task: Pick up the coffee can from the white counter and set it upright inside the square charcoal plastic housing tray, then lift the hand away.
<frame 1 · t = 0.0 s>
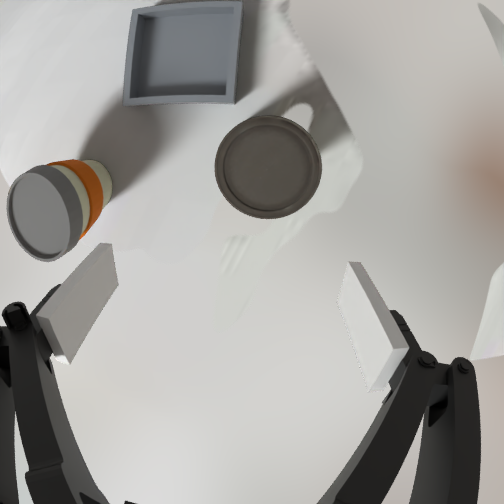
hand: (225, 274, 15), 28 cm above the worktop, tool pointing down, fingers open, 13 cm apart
coffee can: (263, 150, 39), on the worktop
reusable coffee cup: (90, 185, 41), on the worktop
housing tray: (185, 55, 32), on the worktop
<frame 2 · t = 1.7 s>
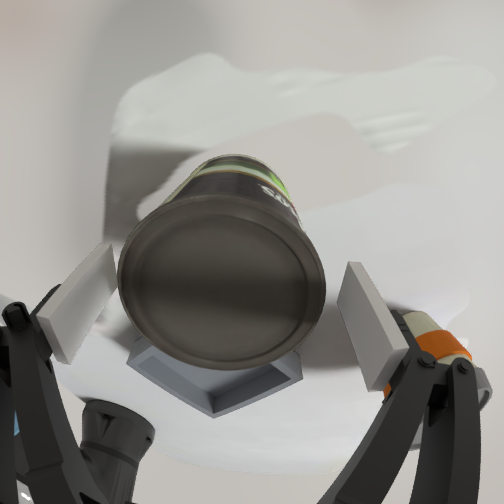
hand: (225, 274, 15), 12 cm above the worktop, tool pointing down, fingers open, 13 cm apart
coffee can: (233, 208, 26), on the worktop
reusable coffee cup: (404, 335, 34), on the worktop
housing tray: (215, 351, 34), on the worktop
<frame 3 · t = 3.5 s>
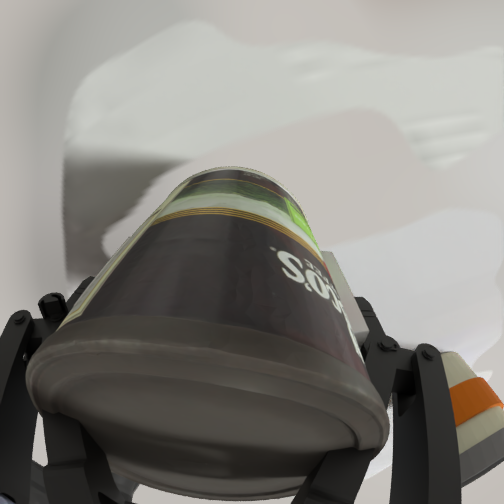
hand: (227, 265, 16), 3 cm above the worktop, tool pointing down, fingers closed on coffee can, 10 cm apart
coffee can: (230, 242, 19), on the worktop, touching gripper
reusable coffee cup: (430, 376, 27), on the worktop
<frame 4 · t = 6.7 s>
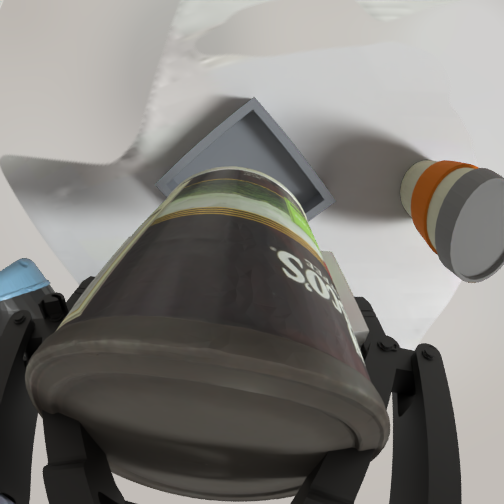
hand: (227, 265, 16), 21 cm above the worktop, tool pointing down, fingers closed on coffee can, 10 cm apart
coffee can: (230, 242, 19), point 18 cm above the worktop, touching gripper
reusable coffee cup: (424, 189, 35), on the worktop
housing tray: (246, 182, 35), on the worktop
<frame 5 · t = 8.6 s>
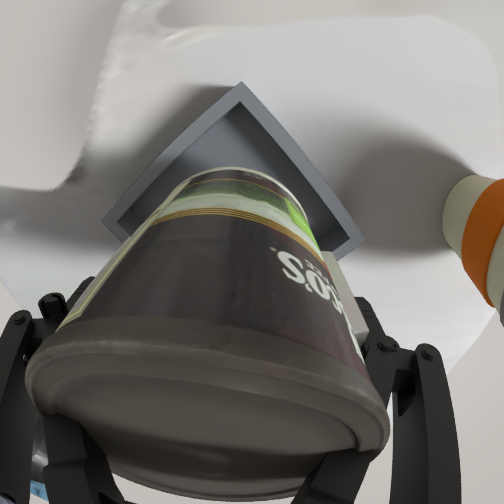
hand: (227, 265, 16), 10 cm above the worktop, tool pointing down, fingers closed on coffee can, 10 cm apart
coffee can: (230, 242, 19), point 7 cm above the worktop, touching gripper
reusable coffee cup: (469, 213, 24), on the worktop
housing tray: (234, 210, 25), on the worktop
when the fingers open (6 cm above the worktop, at t = 10.2 s): coffee can drops 2 cm, resting on housing tray.
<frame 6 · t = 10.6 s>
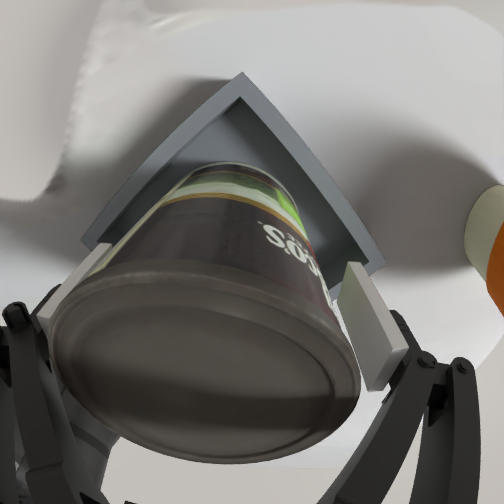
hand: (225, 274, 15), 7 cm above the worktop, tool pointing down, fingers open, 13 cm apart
coffee can: (228, 231, 20), point 1 cm above the worktop, touching housing tray
reusable coffee cup: (491, 226, 21), on the worktop
housing tray: (233, 226, 21), on the worktop
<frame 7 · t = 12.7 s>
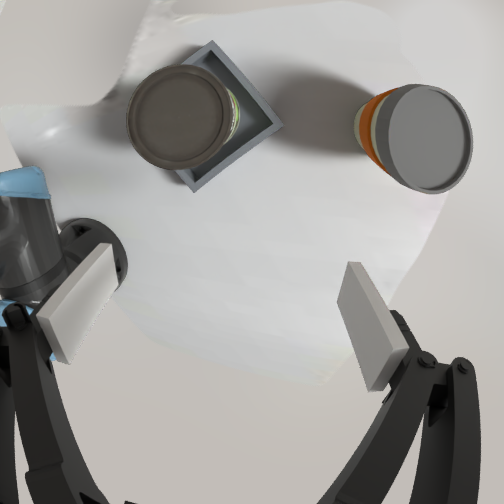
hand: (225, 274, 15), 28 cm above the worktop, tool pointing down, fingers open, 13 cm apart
coffee can: (203, 115, 36), point 1 cm above the worktop, touching housing tray
reusable coffee cup: (380, 128, 37), on the worktop
housing tray: (206, 115, 36), on the worktop
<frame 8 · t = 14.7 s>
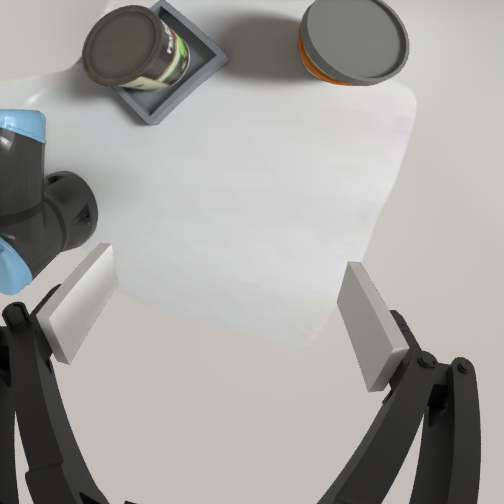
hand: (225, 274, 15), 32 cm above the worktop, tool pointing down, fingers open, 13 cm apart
coffee can: (158, 61, 34), point 1 cm above the worktop, touching housing tray
reusable coffee cup: (328, 55, 35), on the worktop
housing tray: (162, 62, 35), on the worktop
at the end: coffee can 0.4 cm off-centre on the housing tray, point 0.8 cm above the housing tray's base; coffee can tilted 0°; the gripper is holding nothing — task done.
